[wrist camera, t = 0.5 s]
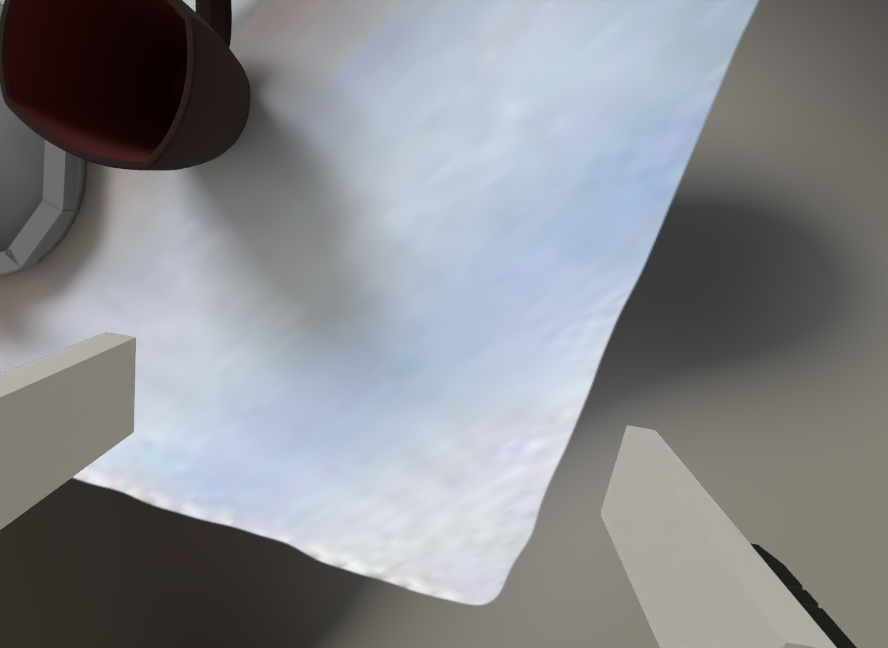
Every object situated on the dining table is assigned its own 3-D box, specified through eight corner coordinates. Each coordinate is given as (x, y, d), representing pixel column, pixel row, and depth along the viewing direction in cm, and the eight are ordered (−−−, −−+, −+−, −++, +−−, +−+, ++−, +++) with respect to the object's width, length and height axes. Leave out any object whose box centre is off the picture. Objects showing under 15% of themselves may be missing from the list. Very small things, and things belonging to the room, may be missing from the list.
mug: (127, 139, 38) (-21, 114, 26) (179, -56, 34) (37, -185, 23) (251, 195, 38) (161, 195, 27) (314, 9, 35) (243, -83, 23)
